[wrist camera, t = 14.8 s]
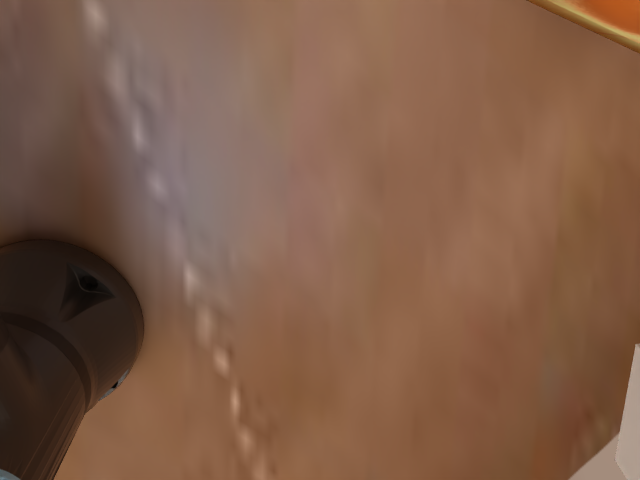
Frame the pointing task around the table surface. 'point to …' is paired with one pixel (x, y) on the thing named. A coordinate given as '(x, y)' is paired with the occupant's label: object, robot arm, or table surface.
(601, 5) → the bread
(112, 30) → the table surface
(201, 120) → the table surface
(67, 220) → the table surface
